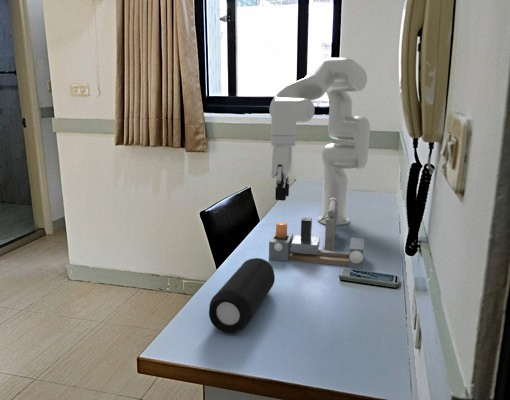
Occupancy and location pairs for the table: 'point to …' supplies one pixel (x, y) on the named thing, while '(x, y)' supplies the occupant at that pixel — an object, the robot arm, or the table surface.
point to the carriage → (305, 239)
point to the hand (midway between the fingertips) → (282, 197)
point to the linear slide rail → (281, 246)
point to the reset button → (281, 230)
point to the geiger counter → (330, 224)
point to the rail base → (322, 257)
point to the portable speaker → (241, 295)
